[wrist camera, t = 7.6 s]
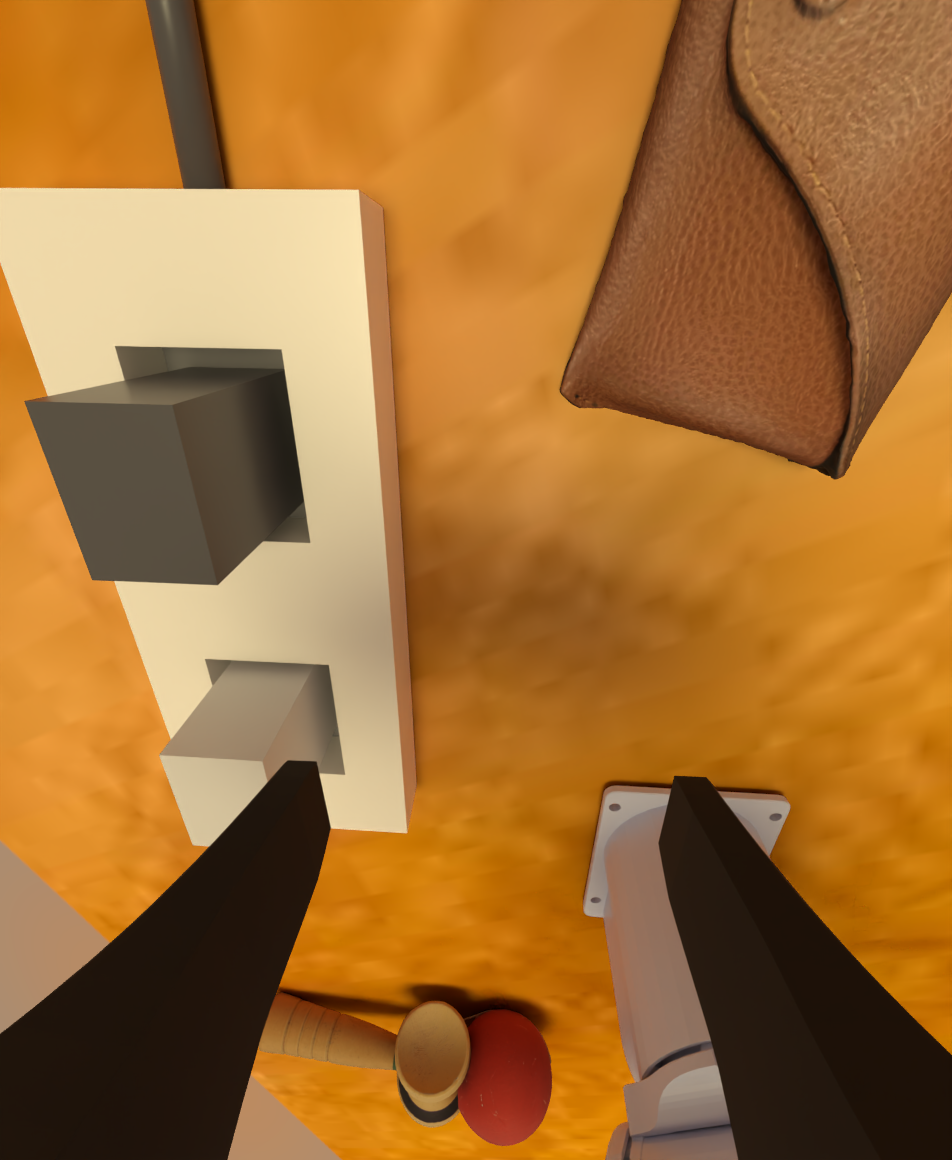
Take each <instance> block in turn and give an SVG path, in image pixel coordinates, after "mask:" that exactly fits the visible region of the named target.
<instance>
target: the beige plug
mask: <svg viewBox="0 0 952 1160" xmlns="http://www.w3.org/2000/svg"><path fill="white" fill-rule="evenodd" d="M336 726H337V716H336V710H335V703H334V696H333V690H332V683H331V676H330V670H329V665H320V664H300V663H279V662H258V661H238V660H232V662H231V663H230V664H229V666H228V667H227V668H226V670H225V671H224V672H223V673H222V675H221V676H220V677H219V679H218V680H217V681H216V682H215V684H214V685H213V686H212V688H211V689H210V690H209V691H208V693H207V694H206V695H205V697H204V698H203V699H202V700H201V702H200V703H199V704H198V706H197V707H196V708H195V710H194V711H193V712H192V713H191V715H190V716H189V717H188V719H187V720H186V721H185V722H184V724H183V725H182V726H181V728H180V729H179V730H178V731H177V733H176V734H175V735H174V737H173V738H172V739H171V740H170V742H169V743H168V744H167V746H166V747H165V748H164V750H163V751H162V752H161V753H160V755H159V756H160V759H161V761H162V764H163V767H164V769H165V772H166V775H167V777H168V780H169V783H170V785H171V788H172V791H173V793H174V796H175V799H176V801H177V804H178V807H179V809H180V812H181V815H182V817H183V820H184V823H185V825H186V828H187V831H188V833H189V836H190V839H191V841H192V844H193V845H198V846H210V845H211V844H212V843H213V842H214V841H215V840H216V839H217V838H218V837H219V836H220V834H221V833H222V832H223V831H224V830H225V829H226V828H227V827H228V826H229V825H230V824H231V823H232V822H233V820H234V819H235V818H236V817H237V816H238V815H239V814H240V813H241V812H242V810H243V809H244V808H245V807H246V806H247V805H248V804H249V803H250V802H251V800H252V799H253V798H254V797H255V796H256V795H257V794H258V792H259V791H260V790H261V789H262V788H263V787H264V786H265V784H266V783H267V782H268V781H269V780H270V779H271V778H272V776H273V775H274V774H275V773H276V772H277V771H278V770H279V769H280V767H281V766H282V765H283V764H284V763H285V762H286V761H288V760H295V761H317V765H318V769H319V767H320V765H321V762H322V760H323V757H324V755H325V752H326V750H327V748H328V745H329V743H330V740H331V738H332V735H333V733H334V731H335V728H336Z"/></svg>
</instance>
